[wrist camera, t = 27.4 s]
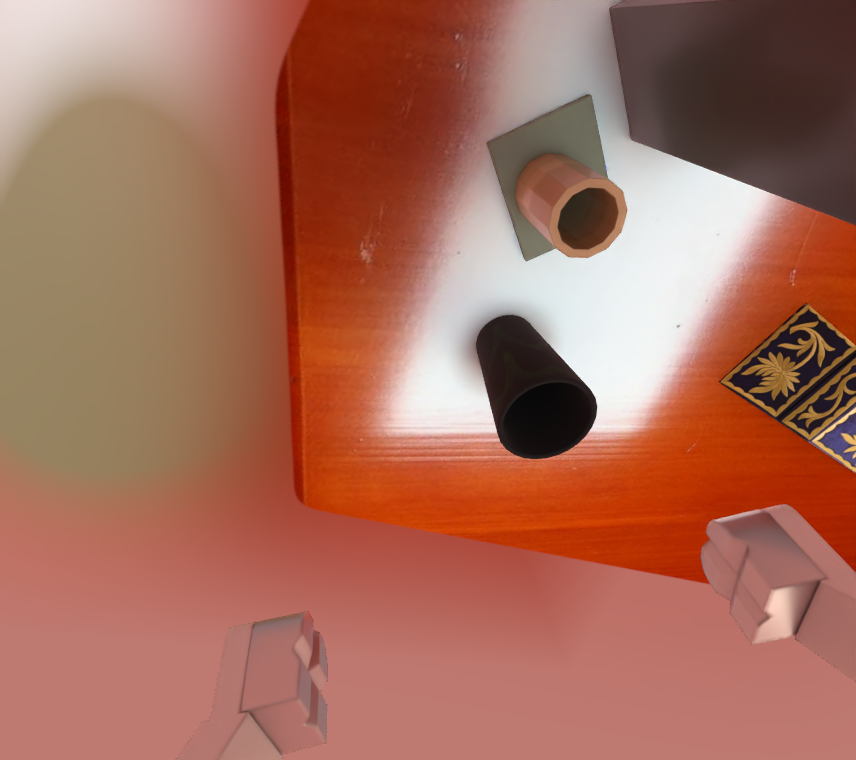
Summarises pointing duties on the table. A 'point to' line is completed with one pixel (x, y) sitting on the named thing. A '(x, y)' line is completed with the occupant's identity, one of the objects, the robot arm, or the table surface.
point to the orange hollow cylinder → (570, 205)
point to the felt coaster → (550, 133)
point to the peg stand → (747, 91)
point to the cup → (532, 390)
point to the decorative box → (805, 383)
